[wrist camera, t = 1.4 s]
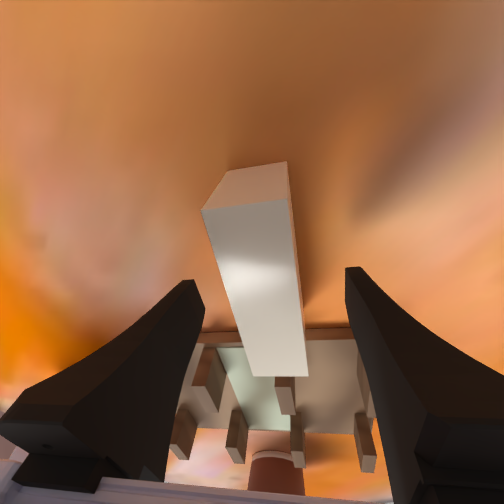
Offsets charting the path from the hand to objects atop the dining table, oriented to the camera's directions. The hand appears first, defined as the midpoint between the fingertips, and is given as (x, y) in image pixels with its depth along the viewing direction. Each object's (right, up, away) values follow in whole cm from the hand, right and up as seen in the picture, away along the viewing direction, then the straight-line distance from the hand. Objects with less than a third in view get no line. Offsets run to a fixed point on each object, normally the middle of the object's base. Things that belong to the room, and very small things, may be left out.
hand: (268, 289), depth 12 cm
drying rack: (0, -10, +11) cm, 15 cm away
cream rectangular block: (0, +2, +3) cm, 4 cm away
